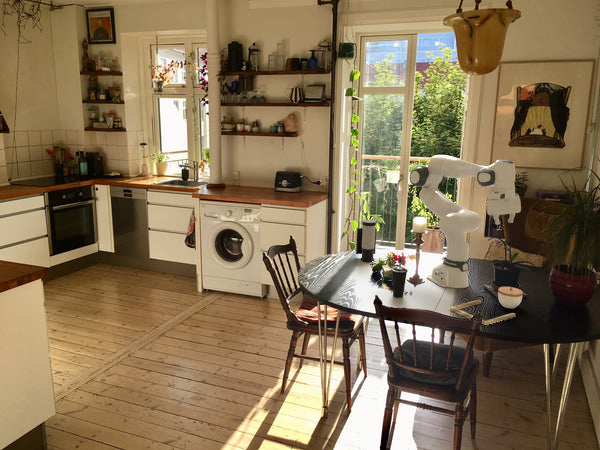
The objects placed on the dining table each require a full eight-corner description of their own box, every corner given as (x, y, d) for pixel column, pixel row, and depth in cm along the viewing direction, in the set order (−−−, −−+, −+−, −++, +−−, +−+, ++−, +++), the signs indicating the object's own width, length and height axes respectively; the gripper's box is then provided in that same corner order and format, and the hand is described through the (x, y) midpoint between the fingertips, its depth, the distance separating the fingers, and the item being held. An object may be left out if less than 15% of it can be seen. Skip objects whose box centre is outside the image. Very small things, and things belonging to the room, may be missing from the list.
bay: (449, 309, 226) (449, 306, 226) (478, 302, 236) (479, 299, 236) (485, 326, 210) (485, 322, 209) (515, 317, 220) (515, 313, 219)
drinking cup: (387, 294, 245) (389, 255, 240) (400, 292, 247) (403, 254, 243) (395, 299, 238) (397, 260, 233) (408, 297, 240) (411, 258, 236)
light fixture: (358, 262, 296) (360, 222, 291) (355, 257, 307) (357, 218, 301) (378, 262, 297) (380, 222, 292) (374, 257, 308) (376, 218, 302)
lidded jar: (492, 305, 233) (494, 286, 230) (502, 300, 240) (504, 281, 238) (515, 312, 225) (517, 293, 223) (524, 306, 232) (527, 287, 230)
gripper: (513, 192, 239) (512, 221, 240) (484, 195, 228) (484, 224, 230) (524, 193, 233) (524, 222, 235) (496, 195, 223) (495, 226, 225)
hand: (504, 223), depth 232 cm, fingers open, 8 cm apart
